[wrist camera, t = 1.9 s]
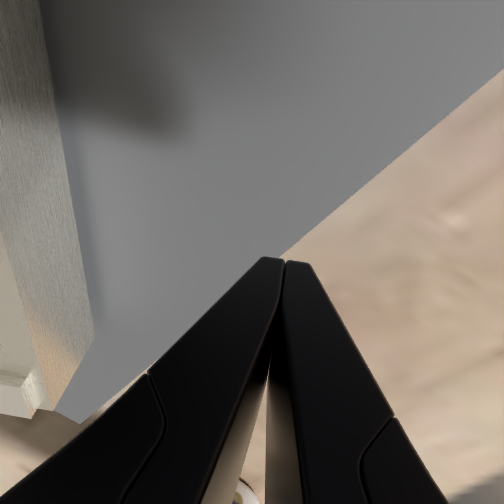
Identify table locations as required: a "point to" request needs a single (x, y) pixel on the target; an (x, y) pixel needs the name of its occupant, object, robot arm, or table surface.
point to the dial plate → (232, 140)
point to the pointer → (35, 228)
